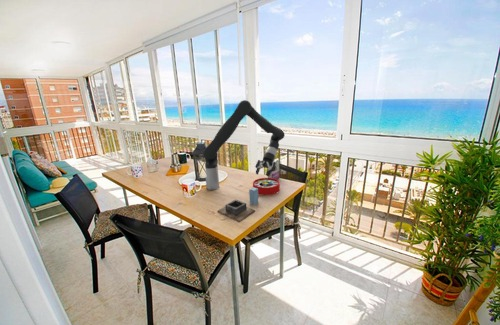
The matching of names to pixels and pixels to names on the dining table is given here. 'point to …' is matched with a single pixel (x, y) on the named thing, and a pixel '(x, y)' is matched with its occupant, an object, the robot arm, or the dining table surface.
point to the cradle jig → (236, 210)
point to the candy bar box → (276, 172)
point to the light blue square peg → (253, 195)
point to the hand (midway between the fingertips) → (262, 174)
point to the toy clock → (267, 186)
